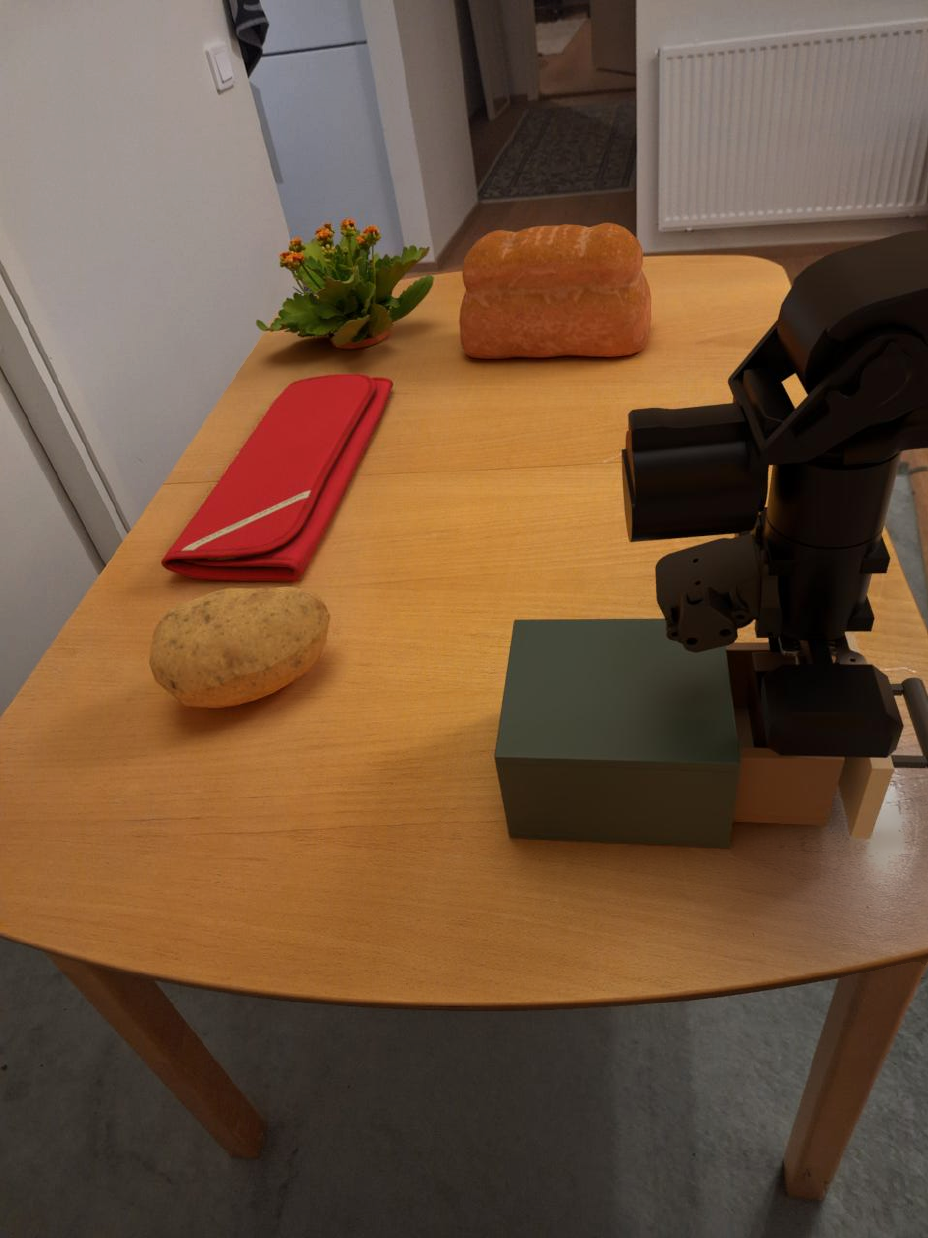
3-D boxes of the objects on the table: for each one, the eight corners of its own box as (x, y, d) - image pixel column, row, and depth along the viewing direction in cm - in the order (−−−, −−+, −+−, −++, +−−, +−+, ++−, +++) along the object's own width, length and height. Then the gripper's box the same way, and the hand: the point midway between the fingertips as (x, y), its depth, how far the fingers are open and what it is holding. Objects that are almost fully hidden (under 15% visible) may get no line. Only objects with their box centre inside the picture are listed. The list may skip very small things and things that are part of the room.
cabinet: (713, 704, 62) (722, 617, 56) (729, 849, 53) (741, 763, 47) (525, 702, 65) (513, 619, 59) (509, 838, 56) (493, 757, 50)
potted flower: (349, 299, 139) (323, 188, 127) (470, 307, 128) (453, 187, 117) (259, 364, 124) (220, 245, 112) (387, 379, 113) (358, 249, 102)
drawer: (900, 705, 58) (923, 632, 54) (945, 843, 50) (977, 771, 45) (648, 701, 62) (649, 633, 57) (652, 830, 54) (653, 762, 49)
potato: (197, 650, 76) (157, 572, 69) (347, 637, 74) (320, 555, 68) (164, 734, 68) (116, 654, 62) (330, 721, 66) (298, 638, 60)
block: (746, 697, 55) (752, 651, 52) (814, 697, 54) (824, 651, 51) (753, 748, 52) (760, 702, 49) (826, 749, 51) (838, 703, 48)
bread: (478, 325, 123) (464, 218, 113) (654, 319, 115) (656, 205, 105) (455, 365, 113) (437, 253, 103) (645, 362, 106) (645, 241, 96)
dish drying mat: (397, 389, 110) (392, 363, 108) (306, 583, 81) (296, 554, 78) (290, 396, 114) (282, 371, 111) (166, 584, 84) (152, 556, 82)
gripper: (660, 433, 51) (656, 616, 61) (673, 640, 37) (666, 831, 47) (851, 422, 48) (814, 615, 59) (939, 639, 35) (870, 839, 45)
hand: (788, 712), depth 52 cm, fingers closed on block, 4 cm apart
